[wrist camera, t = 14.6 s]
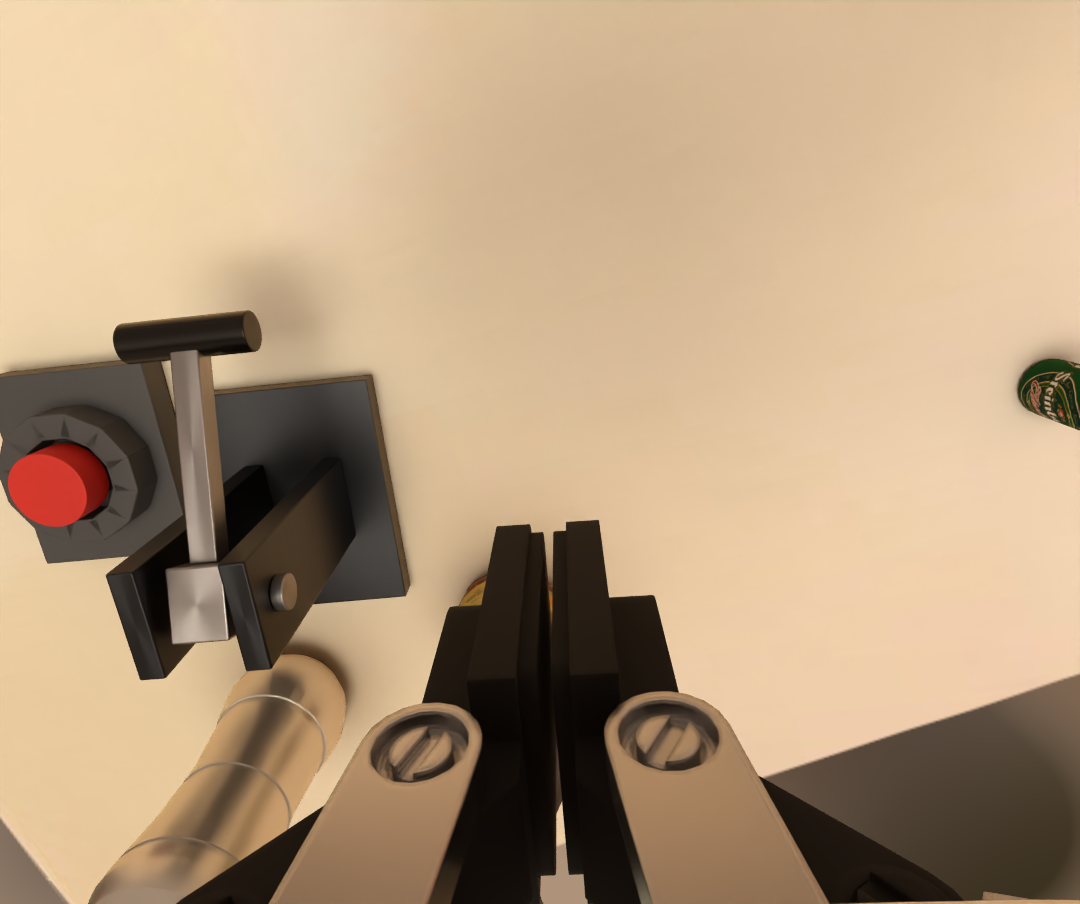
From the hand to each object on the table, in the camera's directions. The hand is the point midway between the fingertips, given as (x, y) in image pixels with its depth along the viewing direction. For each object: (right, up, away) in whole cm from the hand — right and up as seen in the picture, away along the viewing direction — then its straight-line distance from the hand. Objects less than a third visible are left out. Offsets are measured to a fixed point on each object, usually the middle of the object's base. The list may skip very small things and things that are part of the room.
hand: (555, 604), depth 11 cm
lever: (-13, +2, +16) cm, 21 cm away
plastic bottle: (-14, -11, +29) cm, 35 cm away
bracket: (-13, 0, +26) cm, 28 cm away
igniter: (-23, +2, +25) cm, 34 cm away
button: (-23, +1, +22) cm, 32 cm away
